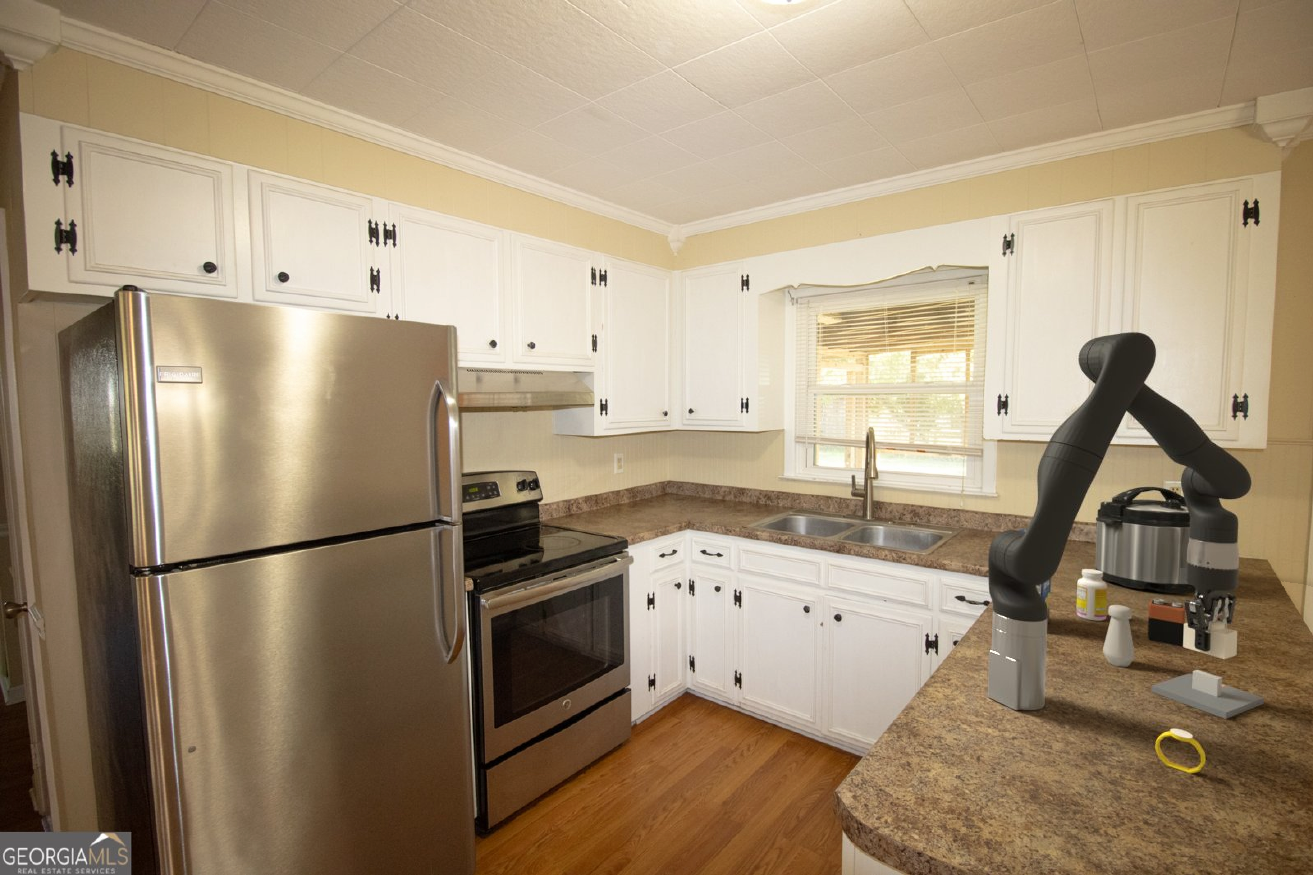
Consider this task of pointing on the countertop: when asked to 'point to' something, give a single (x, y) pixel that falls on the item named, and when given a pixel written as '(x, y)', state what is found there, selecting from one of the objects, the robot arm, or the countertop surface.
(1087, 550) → the countertop surface
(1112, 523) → the pressure cooker
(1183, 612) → the battery
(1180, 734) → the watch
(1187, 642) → the knob
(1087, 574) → the supplement bottle
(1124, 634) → the salt shaker
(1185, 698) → the plate
